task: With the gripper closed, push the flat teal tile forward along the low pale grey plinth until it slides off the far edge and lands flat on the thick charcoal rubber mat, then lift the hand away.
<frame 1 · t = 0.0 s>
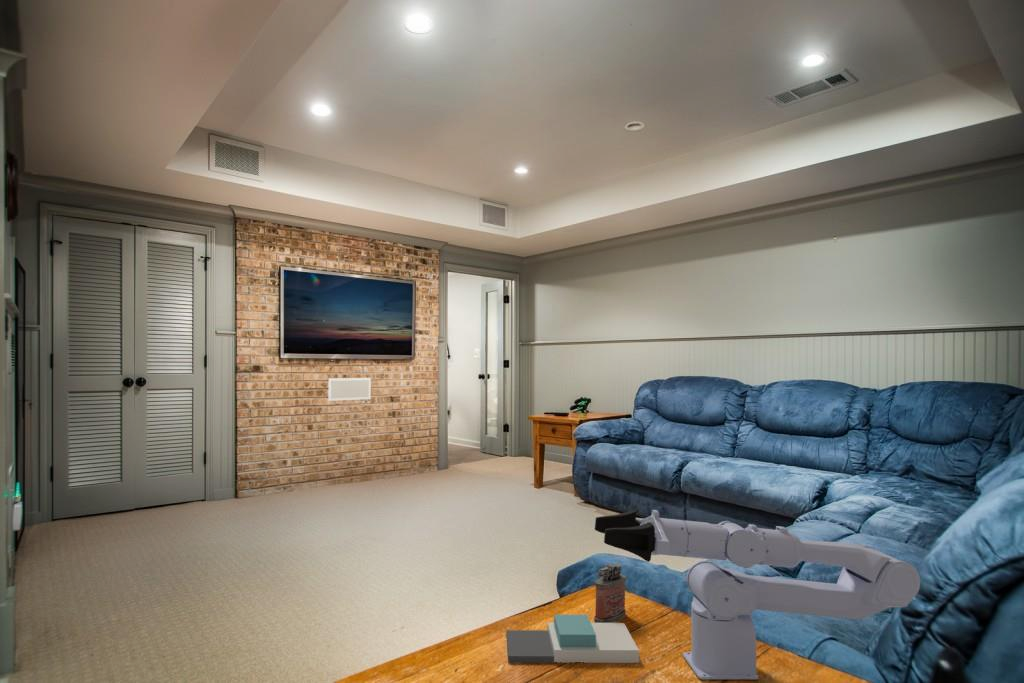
hand: (599, 529, 92), 22 cm above the table, tool horizontal, fingers open, 7 cm apart
tile: (573, 636, 97), point 2 cm above the table, touching plinth
mat: (529, 648, 96), on the table
plinth: (590, 647, 97), on the table
lighter: (610, 619, 110), on the table
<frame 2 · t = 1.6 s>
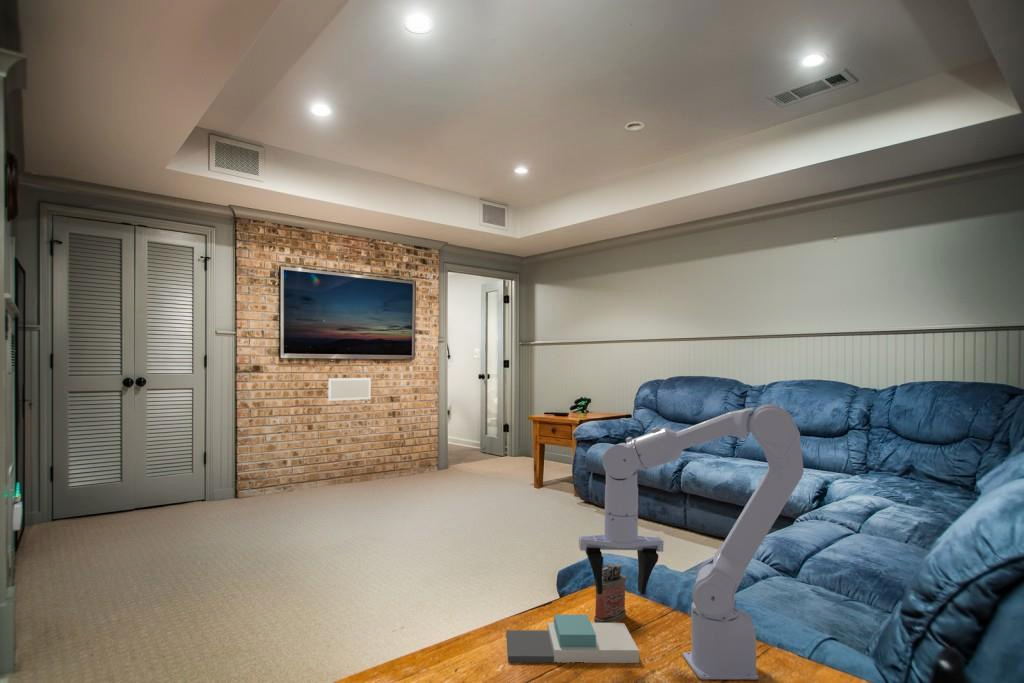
hand: (620, 592, 98), 9 cm above the table, tool pointing down, fingers open, 7 cm apart
nothing on the table moved.
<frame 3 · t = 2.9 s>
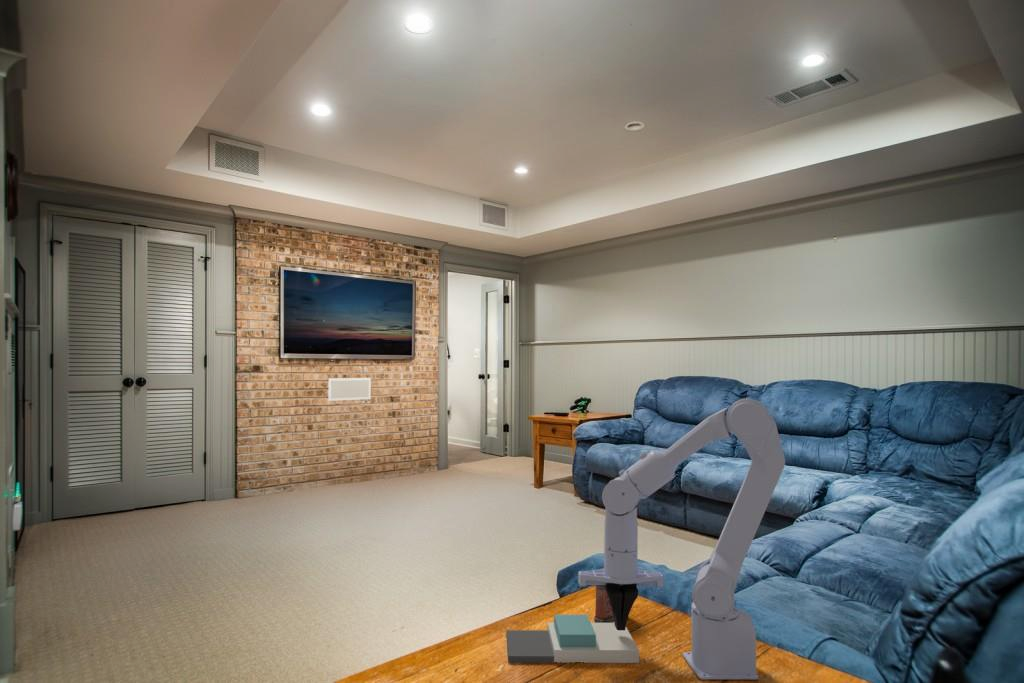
hand: (619, 627, 97), 3 cm above the table, tool pointing down, fingers closed
nothing on the table moved.
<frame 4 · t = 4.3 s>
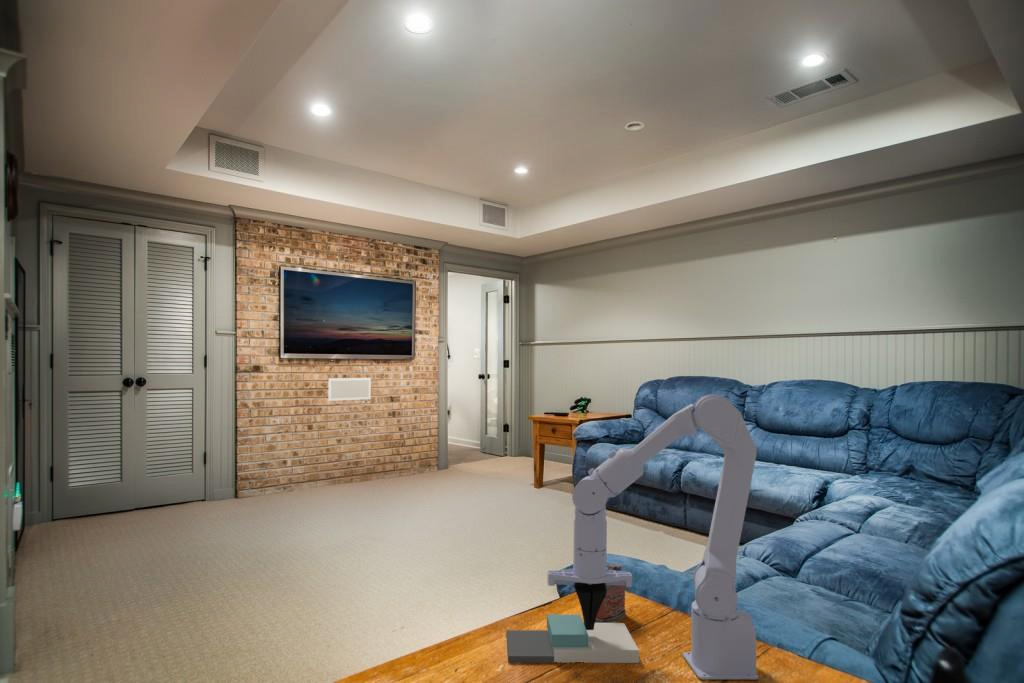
hand: (588, 627, 97), 3 cm above the table, tool pointing down, fingers closed
tile: (566, 636, 97), point 2 cm above the table, touching gripper, plinth
everything else where it was.
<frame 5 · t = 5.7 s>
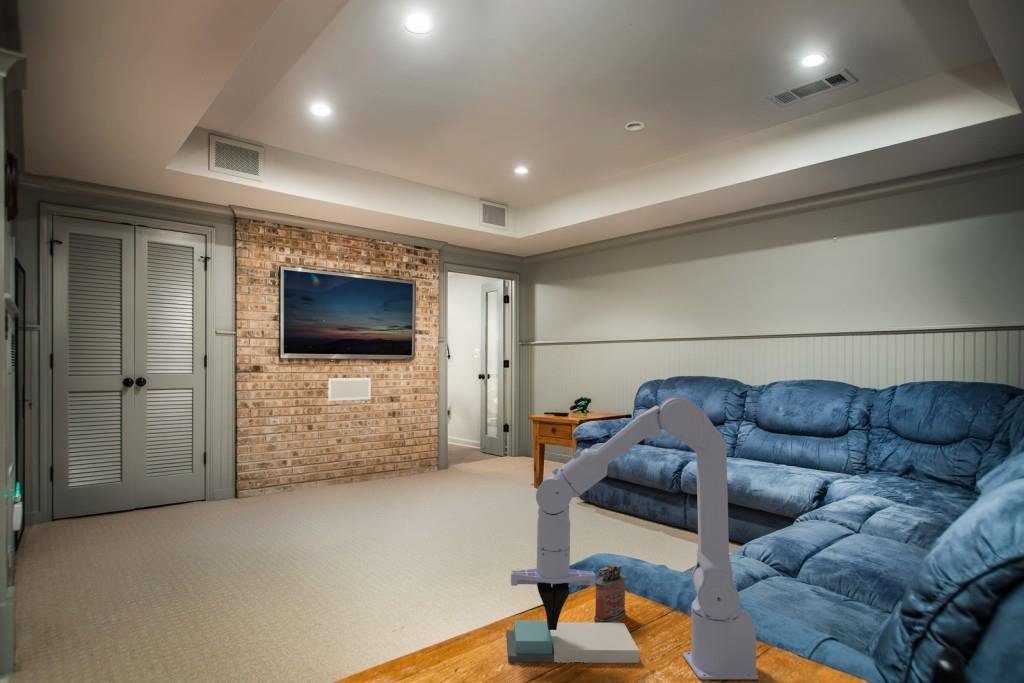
hand: (551, 627, 97), 3 cm above the table, tool pointing down, fingers closed
tile: (532, 642, 97), point 1 cm above the table, touching mat
everything else where it was.
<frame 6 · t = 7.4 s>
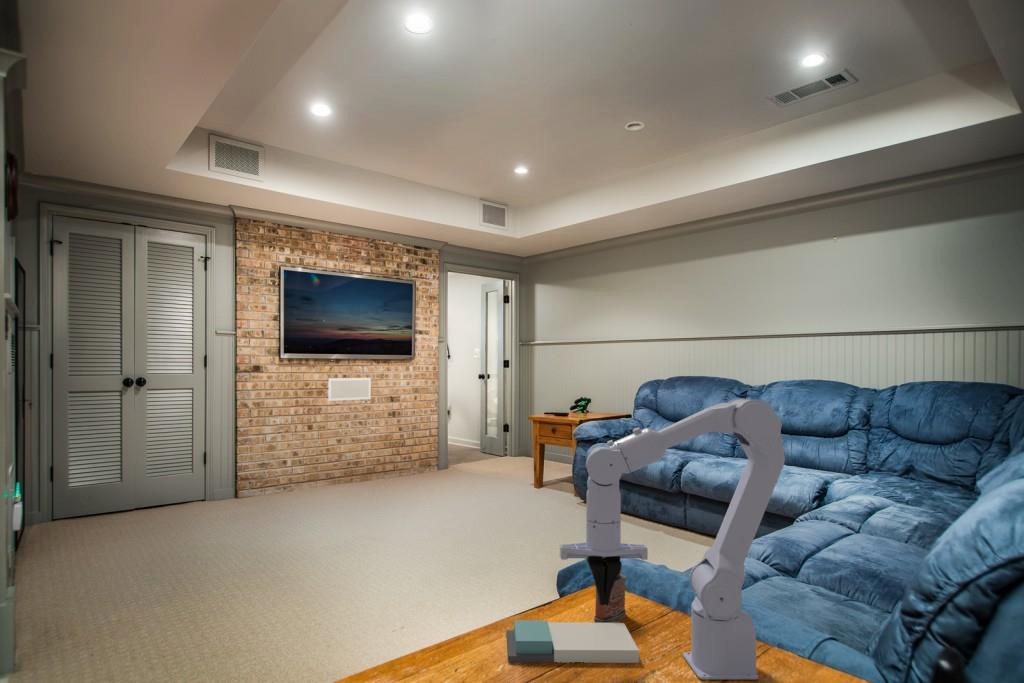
hand: (603, 602, 94), 9 cm above the table, tool pointing down, fingers closed
nothing on the table moved.
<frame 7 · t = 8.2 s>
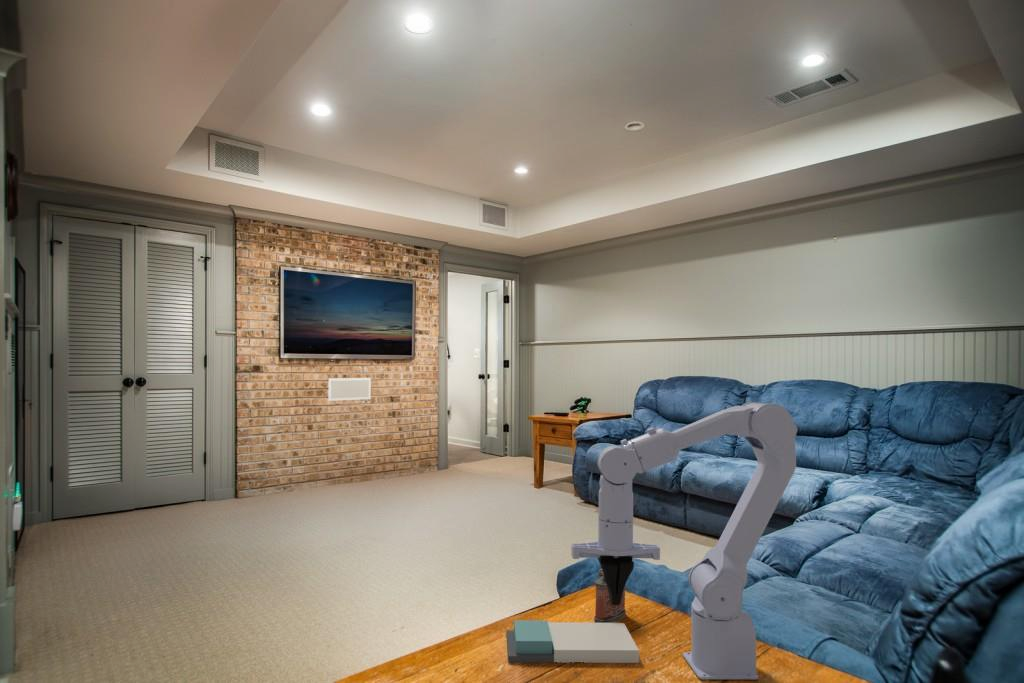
hand: (614, 602, 93), 9 cm above the table, tool pointing down, fingers closed
nothing on the table moved.
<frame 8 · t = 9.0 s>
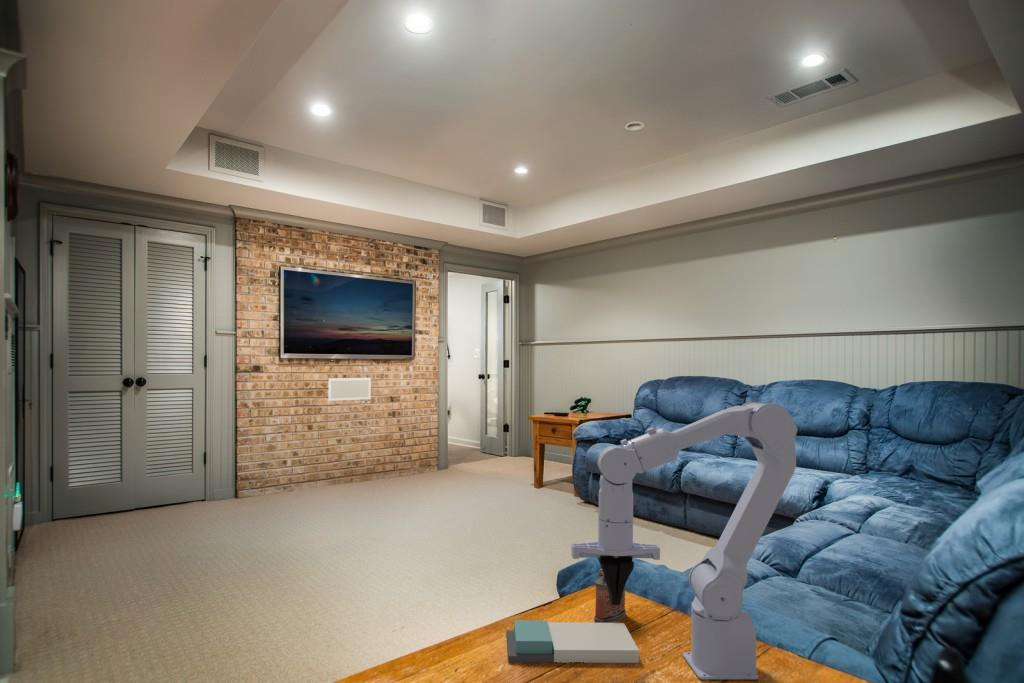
hand: (614, 602, 93), 9 cm above the table, tool pointing down, fingers closed
nothing on the table moved.
at the end: tile 1.5 cm from the target spot on the mat, point 1.0 cm above the mat's base; tile tilted 0°; tile touching mat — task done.
